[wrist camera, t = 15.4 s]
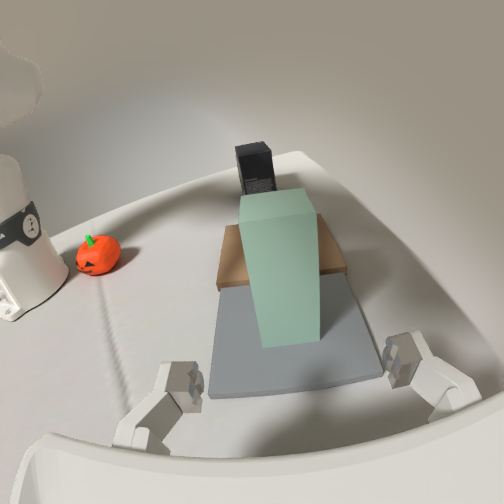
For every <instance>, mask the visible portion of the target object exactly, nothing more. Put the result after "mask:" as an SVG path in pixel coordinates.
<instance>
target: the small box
mask: <svg viewBox="0 0 504 504" xmlns="http://www.w3.org/2000/svg"><path fill="white" fill-rule="evenodd" d="M235 151H236V159H237V166H238V172H239V177H240V182H241V187H242V191H243V195H250V194H257V193H265V192H272V191H277V188H276V182H275V175H274V169H273V162H272V152H271V150H270V148H269V147H268V146H267V145H266V144H265V143H264V142H263V141H262V142H256V143H251V144H246V145H241V146H236V147H235Z"/></svg>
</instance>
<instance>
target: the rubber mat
mask: <svg viewBox="0 0 504 504" xmlns="http://www.w3.org/2000/svg"><path fill="white" fill-rule="evenodd" d="M319 285H320V341H315V342H308V343H301V344H293V345H286V346H277V347H269V348H263V346H262V341H261V336H260V331H259V326H258V321H257V316H256V311H255V306H254V301H253V296H252V291H251V286H250V285H244V286H236V287H228V288H221V291H220V299H219V306H218V314H217V322H216V330H215V338H214V346H213V354H212V363H211V371H210V380H209V389H208V395H209V397H210V399H226V398H244V397H257V396H268V395H278V394H287V393H295V392H303V391H310V390H316V389H323V388H329V387H334V386H340V385H345V384H350V383H355V382H360V381H365V380H369V379H374V378H378V377H382V374H383V369H382V366H381V363H380V361H379V358H378V355H377V352H376V350H375V347H374V345H373V342H372V339H371V337H370V334H369V332H368V329H367V327H366V324H365V322H364V319H363V317H362V314H361V312H360V309H359V307H358V305H357V302H356V300H355V297H354V295H353V293H352V290H351V288H350V286H349V283H348V281H347V279H346V277H345V274H344V272H341V273H334V274H327V275H320V276H319Z"/></svg>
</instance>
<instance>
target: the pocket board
mask: <svg viewBox="0 0 504 504" xmlns="http://www.w3.org/2000/svg"><path fill="white" fill-rule="evenodd" d="M317 231H318V253H319V276H320V275H327V274H334V273H341V272H344V274H345V275H346V271H347V266H346V264H345V262H344V260H343V257H342V255H341V253H340V251H339V249H338V247H337V245H336V243H335V241H334V239H333V237H332V235H331V233H330V231H329V229H328V227H327V225H326V223H325V222H324V220H323V218H322V216H321V214H317ZM216 284H217V288H218V292H219V291H221V288H228V287H236V286H244V285H250V281H249V276H248V271H247V265H246V260H245V255H244V250H243V245H242V240H241V234H240V229H239V224H237V225H230V226H226V228H225V234H224V240H223V245H222V251H221V257H220V263H219V269H218V276H217V282H216Z"/></svg>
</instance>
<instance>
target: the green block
mask: <svg viewBox="0 0 504 504" xmlns="http://www.w3.org/2000/svg"><path fill="white" fill-rule="evenodd" d="M238 224H239V229H240V234H241V240H242V245H243V250H244V255H245V260H246V265H247V271H248V276H249V281H250V286H251V291H252V296H253V301H254V306H255V311H256V316H257V321H258V326H259V331H260V336H261V341H262V346H263V348H269V347H277V346H286V345H293V344H301V343H308V342H315V341H320V285H319V253H318V231H317V214H316V210H315V208H314V206H313V204H312V203H311V201H310V199H309V197H308V195H307V193H306V191H305V189H304V188H296V189H288V190H280V191H272V192H265V193H257V194H250V195H244V196H241V199H240V209H239V220H238Z"/></svg>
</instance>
